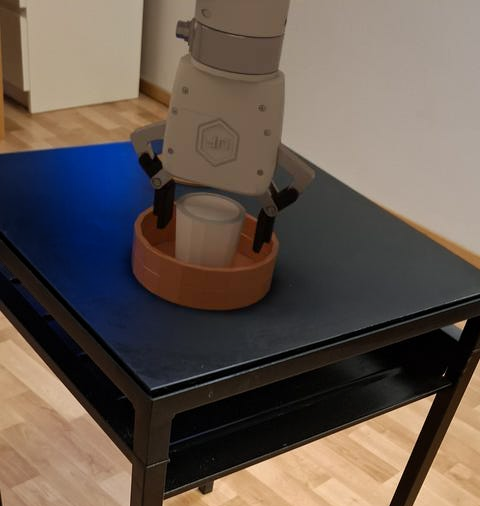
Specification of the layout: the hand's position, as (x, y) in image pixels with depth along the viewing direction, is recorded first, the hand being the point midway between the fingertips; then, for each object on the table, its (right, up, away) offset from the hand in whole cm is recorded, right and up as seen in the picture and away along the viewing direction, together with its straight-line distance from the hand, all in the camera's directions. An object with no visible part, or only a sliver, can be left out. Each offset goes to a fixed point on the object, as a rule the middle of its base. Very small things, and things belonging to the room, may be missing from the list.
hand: (211, 235), depth 73 cm
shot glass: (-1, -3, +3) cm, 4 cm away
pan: (-1, -3, +3) cm, 4 cm away
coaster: (-3, +14, +22) cm, 26 cm away
